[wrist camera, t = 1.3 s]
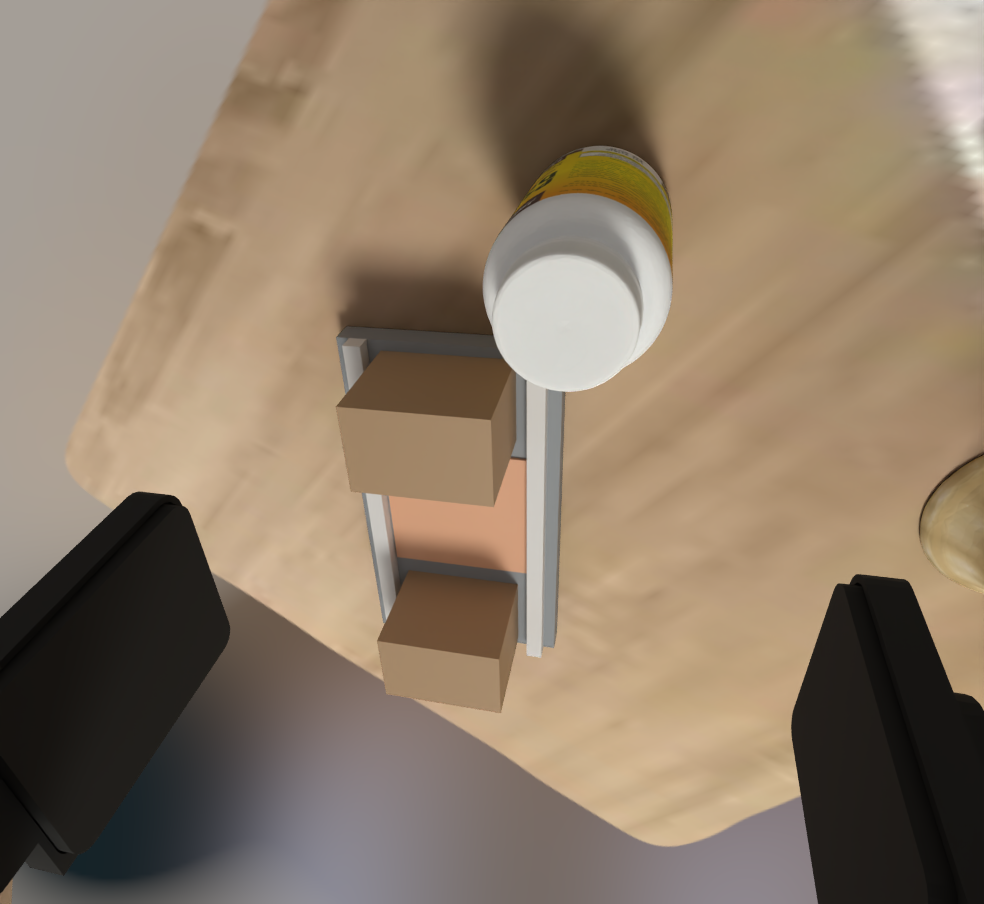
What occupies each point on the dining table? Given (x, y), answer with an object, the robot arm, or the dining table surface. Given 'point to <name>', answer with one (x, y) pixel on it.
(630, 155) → the supplement bottle
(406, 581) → the rail
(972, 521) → the hand bell
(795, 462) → the dining table surface
